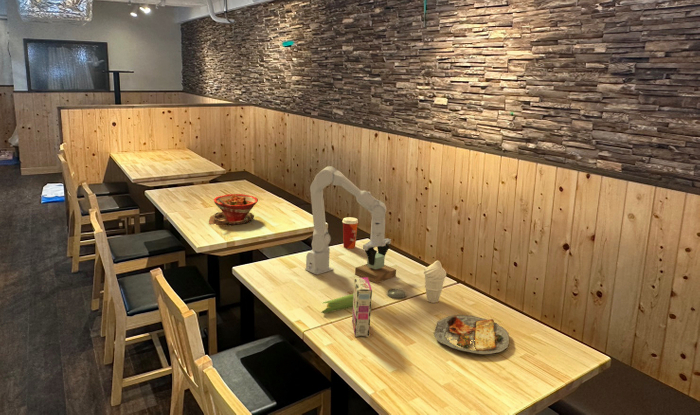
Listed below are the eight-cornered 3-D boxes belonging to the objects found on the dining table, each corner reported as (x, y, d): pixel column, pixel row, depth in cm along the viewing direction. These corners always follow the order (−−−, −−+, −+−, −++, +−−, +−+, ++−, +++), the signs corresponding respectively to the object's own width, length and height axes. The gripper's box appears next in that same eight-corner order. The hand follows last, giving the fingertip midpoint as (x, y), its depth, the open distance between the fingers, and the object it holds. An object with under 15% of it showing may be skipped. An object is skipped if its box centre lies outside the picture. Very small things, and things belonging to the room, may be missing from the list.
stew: (230, 231, 274) (230, 200, 270) (198, 222, 287) (197, 193, 283) (267, 219, 297) (267, 191, 293) (236, 212, 309) (235, 185, 305)
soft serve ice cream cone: (430, 306, 195) (433, 265, 191) (417, 298, 202) (420, 258, 198) (448, 303, 199) (452, 262, 195) (435, 294, 206) (438, 255, 202)
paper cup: (355, 250, 252) (356, 222, 249) (339, 248, 254) (340, 220, 250) (358, 245, 260) (359, 217, 256) (343, 243, 261) (344, 216, 257)
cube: (375, 269, 219) (376, 258, 217) (367, 266, 222) (367, 254, 221) (384, 266, 222) (384, 255, 221) (375, 263, 225) (376, 252, 224)
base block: (375, 283, 215) (376, 276, 214) (355, 274, 223) (355, 267, 222) (395, 276, 223) (396, 269, 222) (375, 267, 231) (375, 261, 230)
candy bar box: (370, 337, 171) (372, 290, 167) (354, 337, 171) (356, 290, 167) (366, 321, 182) (368, 276, 178) (351, 321, 182) (353, 276, 177)
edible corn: (371, 295, 193) (365, 287, 196) (322, 307, 183) (316, 299, 187) (368, 306, 196) (362, 298, 199) (320, 318, 186) (314, 310, 189)
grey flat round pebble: (397, 301, 200) (397, 297, 199) (383, 295, 204) (383, 291, 204) (409, 296, 204) (409, 292, 204) (395, 290, 209) (395, 287, 209)
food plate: (440, 315, 189) (441, 306, 188) (508, 327, 182) (509, 317, 181) (429, 351, 165) (430, 341, 164) (507, 366, 159) (508, 355, 158)
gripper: (372, 237, 210) (370, 269, 214) (396, 231, 220) (394, 262, 224) (359, 233, 215) (358, 264, 219) (384, 227, 225) (382, 257, 228)
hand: (376, 263), depth 221 cm, fingers closed on cube, 5 cm apart
